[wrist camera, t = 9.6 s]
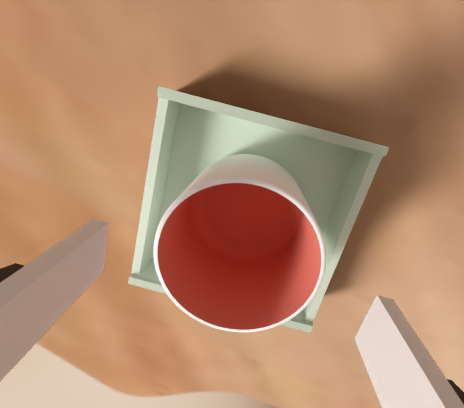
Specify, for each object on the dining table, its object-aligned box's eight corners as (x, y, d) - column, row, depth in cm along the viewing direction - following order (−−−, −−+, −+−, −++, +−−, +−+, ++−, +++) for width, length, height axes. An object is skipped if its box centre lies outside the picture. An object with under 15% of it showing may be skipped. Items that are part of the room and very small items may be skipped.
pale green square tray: (176, 90, 24) (158, 86, 20) (366, 141, 24) (389, 147, 20) (146, 258, 29) (127, 283, 25) (303, 300, 29) (310, 333, 25)
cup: (323, 183, 25) (363, 228, 15) (269, 273, 28) (273, 357, 18) (218, 131, 24) (191, 144, 15) (174, 229, 27) (129, 291, 18)
